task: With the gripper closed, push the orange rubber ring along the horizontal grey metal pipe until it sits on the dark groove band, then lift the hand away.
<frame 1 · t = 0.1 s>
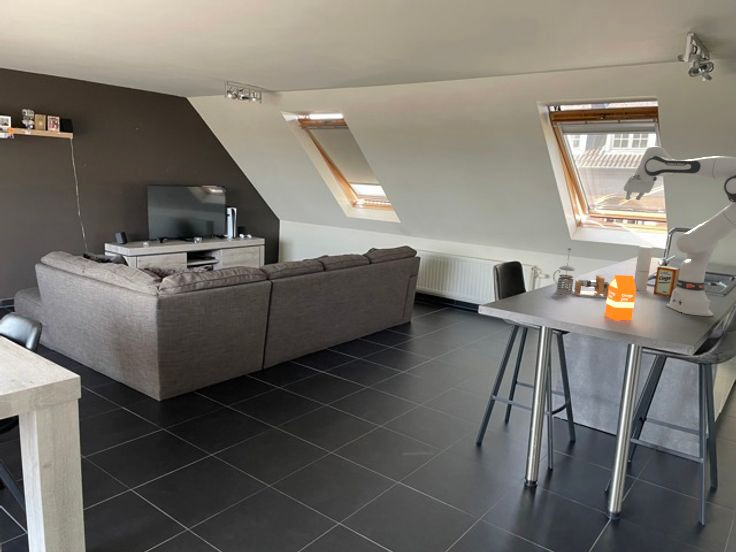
hand: (632, 199, 297), 52 cm above the counter, tool tilted 20°, fingers open, 8 cm apart
pipe rig: (586, 294, 296), on the counter
french press: (562, 293, 297), on the counter
orange juice: (617, 318, 248), on the counter
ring: (599, 284, 294), point 6 cm above the counter, slide at 0.0 cm
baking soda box: (664, 295, 306), on the counter
cylindrical container: (639, 289, 320), on the counter
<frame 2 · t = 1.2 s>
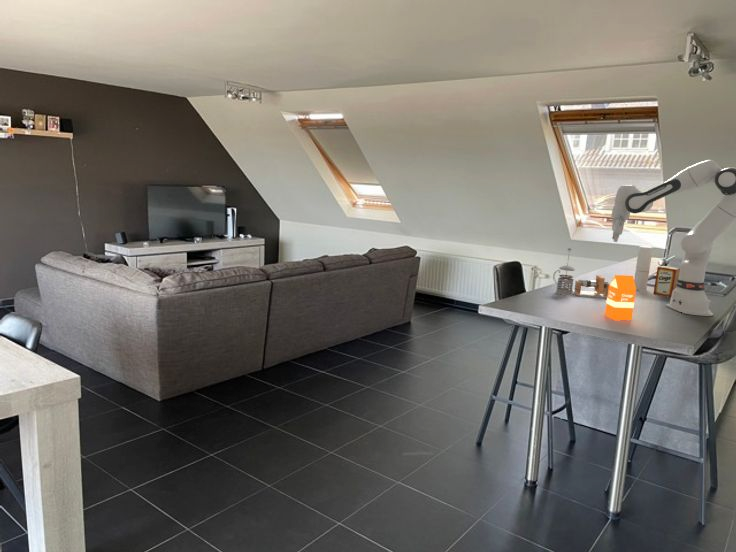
hand: (614, 240, 293), 30 cm above the counter, tool pointing down, fingers open, 8 cm apart
nothing on the counter moved.
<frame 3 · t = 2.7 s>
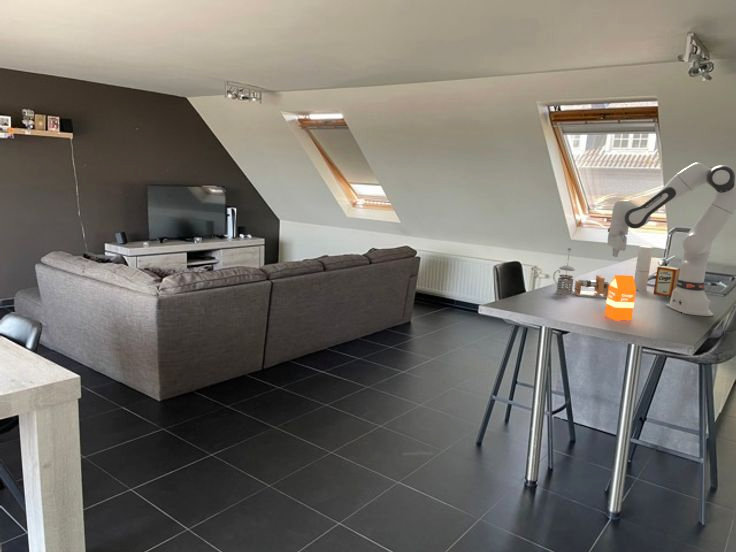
hand: (614, 256, 290), 22 cm above the counter, tool pointing down, fingers closed
nothing on the counter moved.
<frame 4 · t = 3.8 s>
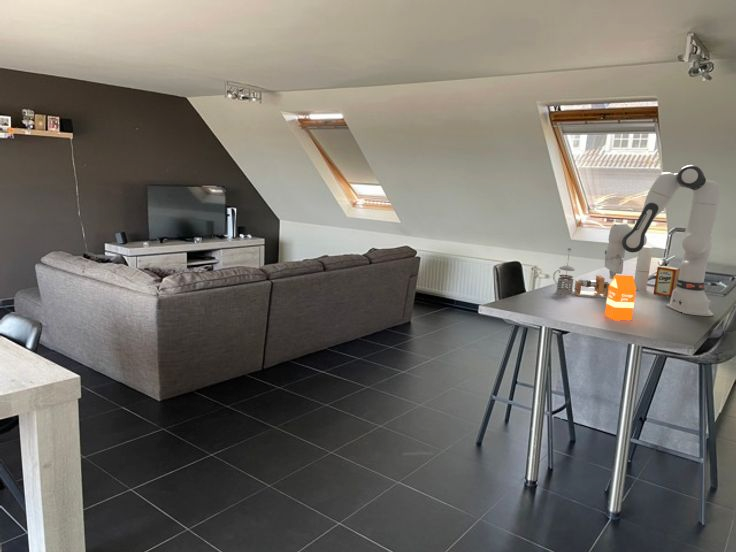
hand: (611, 278, 293), 10 cm above the counter, tool pointing down, fingers closed
nothing on the counter moved.
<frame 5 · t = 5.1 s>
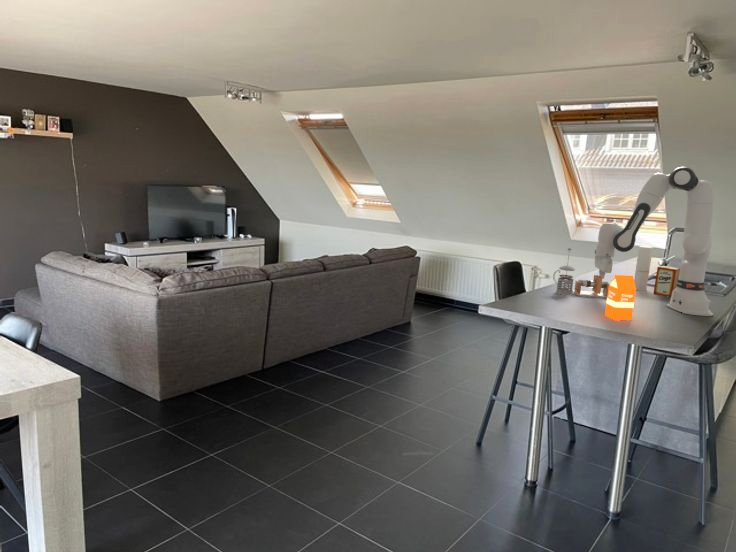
hand: (601, 278, 294), 10 cm above the counter, tool pointing down, fingers closed, pressing on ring
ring: (597, 284, 294), point 6 cm above the counter, slide at 1.3 cm, touching gripper
everything else where it was.
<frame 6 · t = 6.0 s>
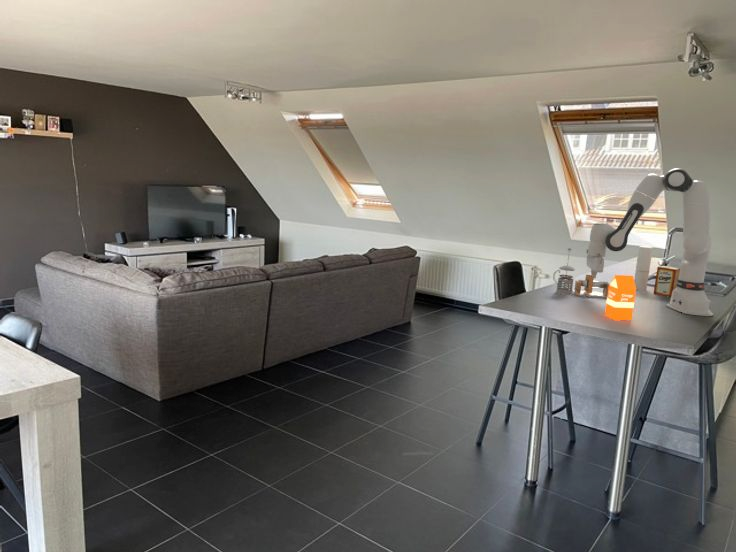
hand: (593, 277, 294), 9 cm above the counter, tool pointing down, fingers closed, pressing on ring
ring: (588, 283, 295), point 6 cm above the counter, slide at 5.5 cm, touching gripper
everything else where it was.
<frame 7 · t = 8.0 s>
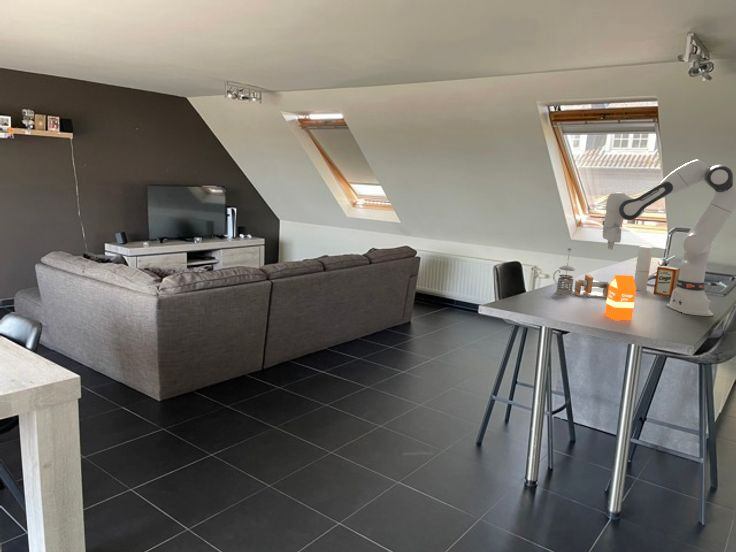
hand: (610, 249, 290), 26 cm above the counter, tool pointing down, fingers closed
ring: (588, 283, 295), point 6 cm above the counter, slide at 5.9 cm
everything else where it was.
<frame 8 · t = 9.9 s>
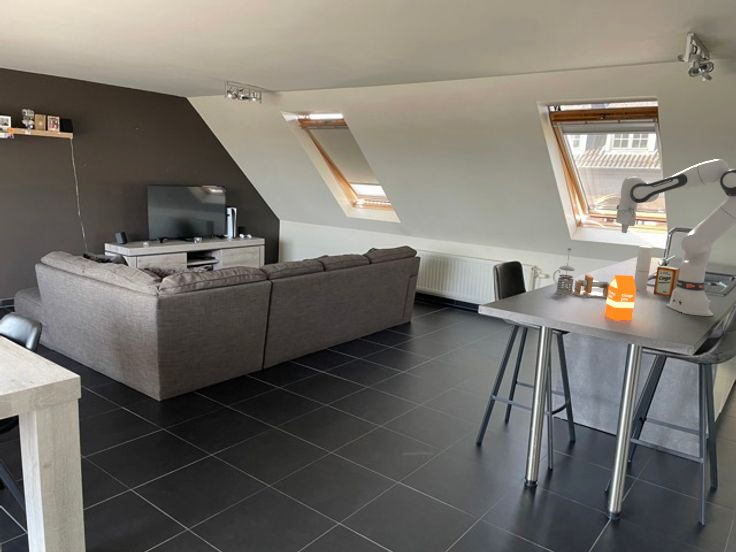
hand: (624, 232, 294), 34 cm above the counter, tool pointing down, fingers closed
nothing on the counter moved.
at the end: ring slide at 5.9 cm; the gripper is holding nothing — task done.
